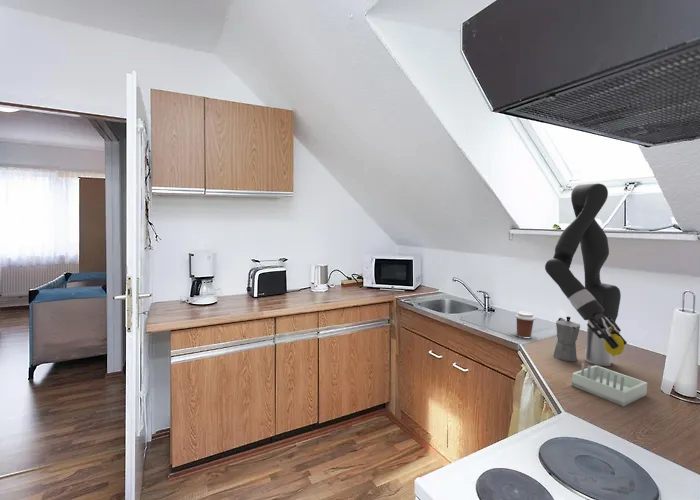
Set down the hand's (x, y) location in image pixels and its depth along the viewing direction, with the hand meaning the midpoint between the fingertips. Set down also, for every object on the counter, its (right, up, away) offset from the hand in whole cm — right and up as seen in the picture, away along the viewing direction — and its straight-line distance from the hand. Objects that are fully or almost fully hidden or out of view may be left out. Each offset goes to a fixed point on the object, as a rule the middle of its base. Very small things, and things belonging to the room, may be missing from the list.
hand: (620, 346), depth 122 cm
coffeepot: (0, -13, +32) cm, 35 cm away
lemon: (-1, -4, +2) cm, 5 cm away
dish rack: (-3, -16, +2) cm, 16 cm away
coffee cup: (-5, -11, +58) cm, 59 cm away
